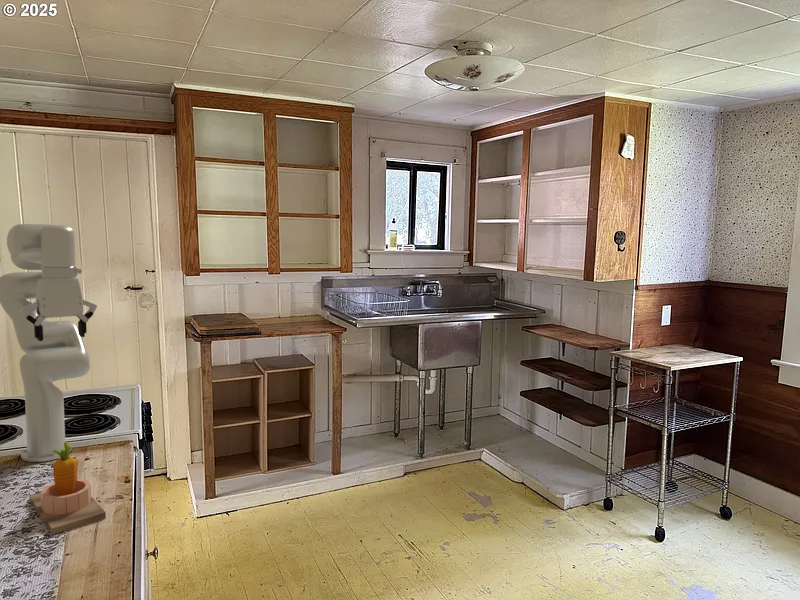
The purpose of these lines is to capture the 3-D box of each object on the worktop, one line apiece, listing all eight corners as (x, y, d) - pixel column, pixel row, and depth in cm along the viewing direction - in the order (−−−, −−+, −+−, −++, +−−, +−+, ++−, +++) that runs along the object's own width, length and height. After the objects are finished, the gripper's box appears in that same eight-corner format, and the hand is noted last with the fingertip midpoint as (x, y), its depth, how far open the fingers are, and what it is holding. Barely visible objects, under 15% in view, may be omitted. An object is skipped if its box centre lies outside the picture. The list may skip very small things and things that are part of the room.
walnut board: (29, 502, 136) (29, 496, 136) (79, 488, 144) (79, 483, 144) (51, 534, 122) (51, 528, 122) (105, 518, 130) (105, 512, 130)
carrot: (67, 510, 130) (65, 449, 128) (49, 507, 131) (47, 446, 129) (83, 500, 135) (81, 441, 133) (65, 497, 136) (64, 438, 134)
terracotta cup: (37, 503, 133) (36, 487, 133) (83, 490, 140) (82, 475, 140) (48, 519, 126) (47, 502, 126) (96, 504, 133) (95, 489, 133)
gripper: (90, 271, 153) (92, 332, 155) (16, 273, 141) (19, 339, 143) (99, 273, 148) (101, 337, 150) (23, 275, 135) (26, 344, 137)
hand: (61, 338), depth 146 cm, fingers open, 9 cm apart
